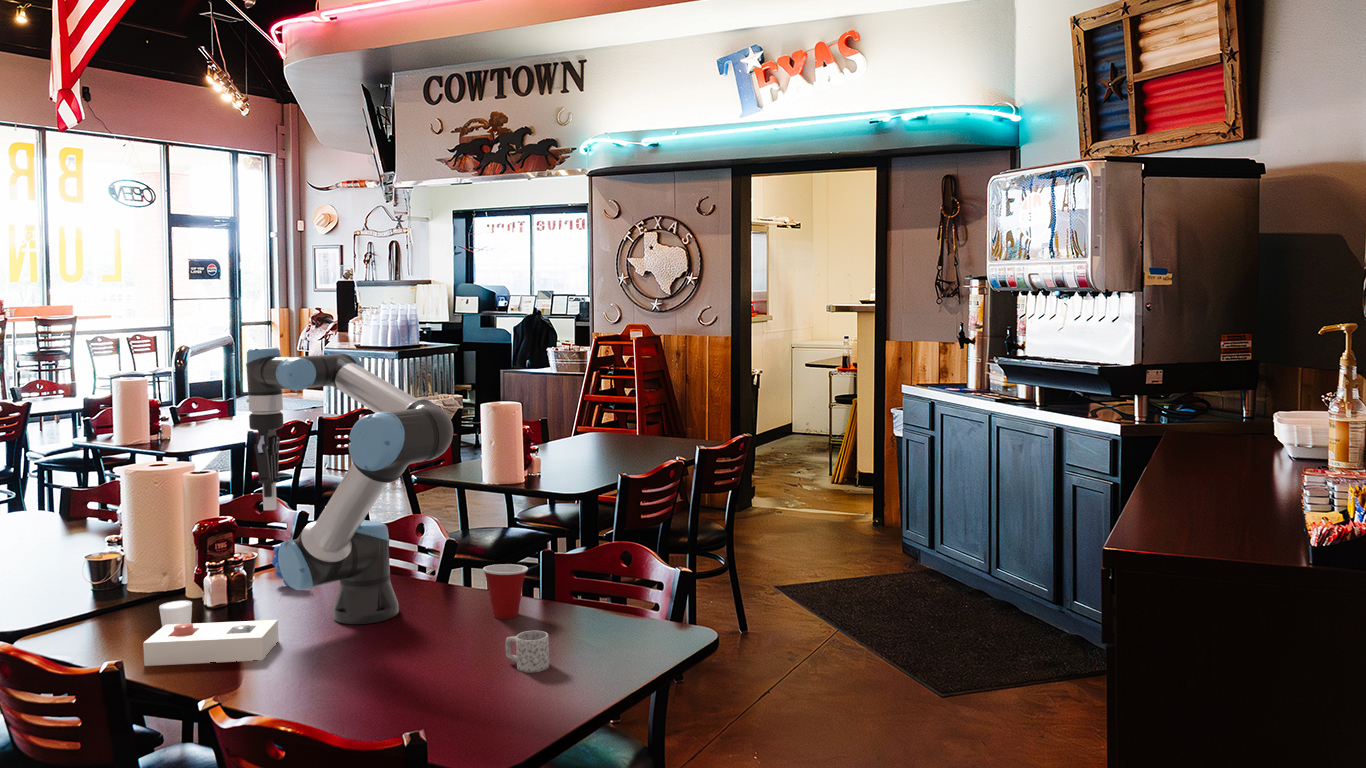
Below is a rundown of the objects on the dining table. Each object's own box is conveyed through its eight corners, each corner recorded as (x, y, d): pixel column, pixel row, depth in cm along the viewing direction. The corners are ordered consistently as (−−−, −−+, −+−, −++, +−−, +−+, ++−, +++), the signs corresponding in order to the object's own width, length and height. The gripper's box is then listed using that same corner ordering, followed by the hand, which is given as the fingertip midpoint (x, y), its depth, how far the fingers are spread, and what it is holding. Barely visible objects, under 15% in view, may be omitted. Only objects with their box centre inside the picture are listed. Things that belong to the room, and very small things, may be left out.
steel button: (254, 646, 223) (253, 624, 223) (248, 652, 219) (247, 629, 219) (236, 647, 223) (235, 625, 222) (230, 653, 219) (229, 630, 219)
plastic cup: (538, 612, 248) (537, 563, 247) (511, 624, 238) (509, 574, 237) (502, 606, 253) (501, 559, 252) (474, 618, 243) (473, 569, 242)
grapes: (261, 588, 271) (259, 543, 270) (281, 581, 277) (279, 538, 276) (292, 593, 266) (290, 548, 265) (312, 586, 272) (310, 542, 271)
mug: (555, 663, 212) (554, 632, 212) (538, 674, 206) (537, 642, 206) (514, 657, 217) (514, 627, 216) (497, 667, 210) (496, 636, 210)
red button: (196, 645, 222) (195, 623, 221) (190, 651, 218) (189, 628, 218) (178, 646, 221) (177, 623, 221) (172, 652, 218) (170, 629, 217)
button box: (278, 641, 228) (277, 619, 227) (263, 660, 216) (261, 637, 215) (166, 646, 225) (165, 624, 225) (144, 665, 213) (143, 642, 213)
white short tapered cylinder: (180, 639, 230) (178, 609, 229) (153, 637, 231) (152, 607, 231) (200, 629, 237) (198, 600, 236) (174, 628, 238) (172, 599, 237)
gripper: (257, 409, 248) (262, 504, 250) (240, 415, 235) (245, 515, 237) (289, 409, 249) (293, 503, 251) (274, 414, 236) (278, 514, 238)
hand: (270, 509), depth 244 cm, fingers closed
